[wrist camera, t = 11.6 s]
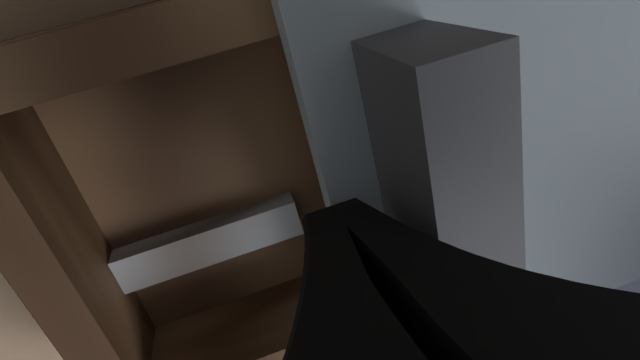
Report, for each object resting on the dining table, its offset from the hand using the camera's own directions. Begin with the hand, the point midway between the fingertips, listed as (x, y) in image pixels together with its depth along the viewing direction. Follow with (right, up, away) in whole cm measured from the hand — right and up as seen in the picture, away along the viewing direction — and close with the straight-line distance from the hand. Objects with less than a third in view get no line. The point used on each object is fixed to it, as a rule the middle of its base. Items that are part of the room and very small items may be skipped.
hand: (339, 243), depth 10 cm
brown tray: (-2, +2, +5) cm, 6 cm away
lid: (+4, +2, +2) cm, 5 cm away
